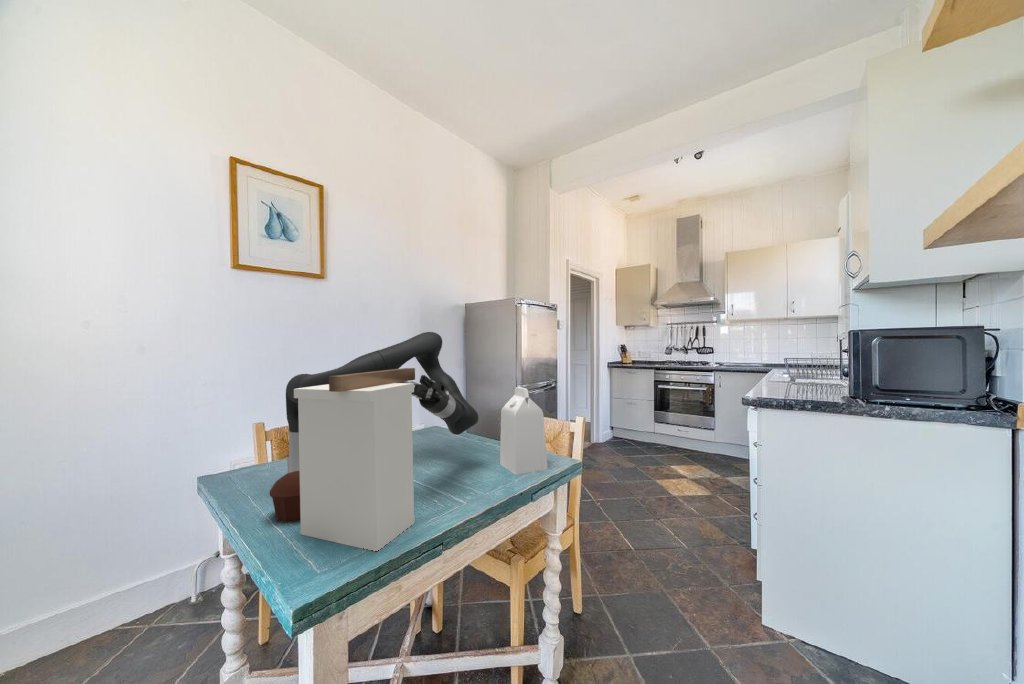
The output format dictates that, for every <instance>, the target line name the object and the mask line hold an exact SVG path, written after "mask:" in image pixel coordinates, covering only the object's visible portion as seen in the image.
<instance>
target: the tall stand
mask: <svg viewBox="0 0 1024 684" xmlns="http://www.w3.org/2000/svg"><path fill="white" fill-rule="evenodd" d="M414 386H415V385H414V383H392V384H385V385H379V386H373V387H367V388H361V389H355V390H348V391H342V392H332V391H329V384H327V385H319V386H311V387H304V388H296V389H294V398H298V418H299V468H300V519H301V520H300V535H303V536H305V537H309V538H314V539H320V540H323V541H328V542H331V543H337V544H341V545H345V546H349V547H353V548H354V547H355V548H358V549H363V548H364V549H363V550H366V549H368V550H367V551H371V550H373V551H372V552H375V551H378V550H379V551H380V549H381V548H382V549H383V548H384V546H385V545H386V544H387V545H388V544H390V543H391V542H393V539H394V538H395V539H397V538H398V537H399V536H400V535H401V534H403V533H404V532H405V531H407V530H408V529H409V528H411V527H412V526H414V524H415V496H414V494H415V493H414V491H415V490H414V487H415V486H414V452H413V451H414V447H413V444H414V443H413V410H412V409H413V405H412V403H413V402H412V399H413V398H412V397H413V396H412V394H411V393H412V392H414ZM411 525H412V526H411ZM410 526H411V527H410ZM407 528H408V529H407ZM406 529H407V530H406ZM403 531H404V532H403ZM402 532H403V533H402ZM399 534H400V535H399ZM398 535H399V536H398ZM397 536H398V537H397ZM395 539H394V540H395ZM390 541H391V542H390ZM389 542H390V543H389ZM387 545H386V546H387ZM386 546H385V547H386ZM382 549H381V550H382ZM379 551H378V552H379Z"/></svg>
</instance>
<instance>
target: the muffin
mask: <svg viewBox="0 0 1024 684" xmlns="http://www.w3.org/2000/svg"><path fill="white" fill-rule="evenodd" d="M269 496H270V498H272V503H273V508H274V514H275V517H276V521H277V522H281V523H292V522H296V521H298V522H299V521H301V519H300V471H294V472H290V473H288V472H287V473H285V474H284V475H282V476H281V477H280V478H278V479H277V480H276V481H275V482H274V484H273V485H272V487H271V489H270V490H269Z"/></svg>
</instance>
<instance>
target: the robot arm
mask: <svg viewBox="0 0 1024 684" xmlns="http://www.w3.org/2000/svg"><path fill="white" fill-rule="evenodd" d="M442 347H443V338H442V336H441V335H440V334H439V333H437V332H434V331H425V332H422V333H419V334H417V335H414V336H413V337H411V338H408V339H406V340H403V341H401V342H399V343H395V344H392V345H389V346H387V347H384V348H382V349H378V350H374V351H371V352H368V353H365V354H362V355H360V356H358V357H356V358H354V359H352V360H351V361H349V362H348V363H345V364H344V365H342V366H339V367H337V368H334V369H331V370H327V371H323V372H318V373H312V374H310V373H300V374H297V375H295V376H293V377H292V378H291V379H290V380H289V381H288V382H287V384H286V386H285V387H286V388H285V408H286V409H285V410H286V420H287V423H288V446H289V447H288V449H289V452H288V454H289V455H288V456H287V460H286V461H287V462H286V463H287V464H286V465H287V468H286V469H287V474H288V473H290V472H294V471H300V468H299V418H298V398H294V389H296V388H304V387H311V386H319V385H327V384H329V376H337V375H346V374H355V373H365V372H374V371H383V370H392V369H401V368H402V366H404V365H405V364H407V362H408V361H410V360H412V359H413V358H415V360H416V361H417V362H418V364H419V365H420V366H421V368H422V369H423V370H424V371H423V372H425V373H426V374H421V376H420V378H419V383H417V382H416V381H414V380H410V381H404V382H398V383H414V392H412V393H411V394H412V397H415V398H416V399H418V401H419V404H420V406H421V407H422V408H423V409H425V410H426V411H428V412H429V413H431V414H432V415H434V416H436V417H438V418H439V419H441V420H442V421H444V422H445V424H446V426H447V428H448V430H449V432H450V433H452V434H453V435H454V436H455V435H461V434H463V433H464V432H466V431H467V430H469V429H471V428H472V427H473V426H475V425H476V424H477V423H478V422H479V414H478V411H477V410H476V409H475V408H474V407H473V406H472V405H471V404H470V403H469V402H468V401H467V400H466V398H465V397H464V396H463V394H462V392H461V390H460V388H459V386H458V384H457V383H456V381H455V380H454V378H453V377H452V376H451V375H449V374H448V373H446V372H445V371H444V369H443V368H442V365H441V364H440V363H441V362H440V360H439V356H440V352H441V350H442ZM426 375H427V376H426Z"/></svg>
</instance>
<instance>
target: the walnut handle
mask: <svg viewBox="0 0 1024 684" xmlns="http://www.w3.org/2000/svg"><path fill="white" fill-rule="evenodd" d="M414 380H416V368H415V367H403V368H402V367H400V368H399V369H392V370H383V371H374V372H365V373H355V374H346V375H337V376H329V391H332V392H342V391H348V390H355V389H361V388H367V387H373V386H379V385H385V384H392V383H398V382H404V381H408V382H411V381H414Z"/></svg>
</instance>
